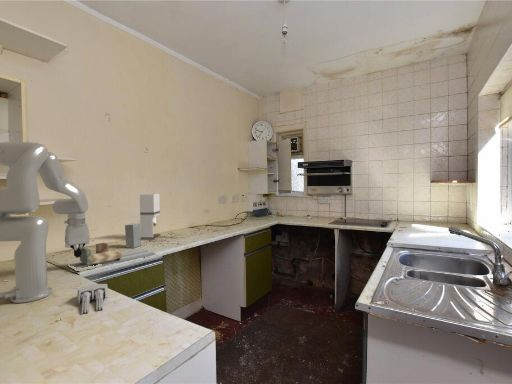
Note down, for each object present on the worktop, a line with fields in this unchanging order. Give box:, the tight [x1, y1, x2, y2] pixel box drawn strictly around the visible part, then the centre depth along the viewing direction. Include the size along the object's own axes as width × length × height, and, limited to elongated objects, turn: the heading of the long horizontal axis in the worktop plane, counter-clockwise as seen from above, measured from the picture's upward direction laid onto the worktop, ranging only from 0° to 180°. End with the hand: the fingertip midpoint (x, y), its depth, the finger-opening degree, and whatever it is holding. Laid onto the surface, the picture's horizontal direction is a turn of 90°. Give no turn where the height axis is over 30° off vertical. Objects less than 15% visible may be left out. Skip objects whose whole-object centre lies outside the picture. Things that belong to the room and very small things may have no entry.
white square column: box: [139, 193, 161, 241], centre depth 208 cm, size 11×11×35 cm
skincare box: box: [124, 223, 142, 249], centre depth 182 cm, size 8×7×16 cm
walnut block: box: [95, 242, 109, 254], centre depth 162 cm, size 5×5×7 cm
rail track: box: [68, 249, 157, 269], centre depth 152 cm, size 42×16×1 cm, turn 140°
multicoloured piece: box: [79, 246, 123, 266], centre depth 147 cm, size 18×12×9 cm
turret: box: [76, 283, 109, 315], centre depth 99 cm, size 10×20×5 cm, turn 31°
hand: (77, 256), depth 138 cm, fingers closed
